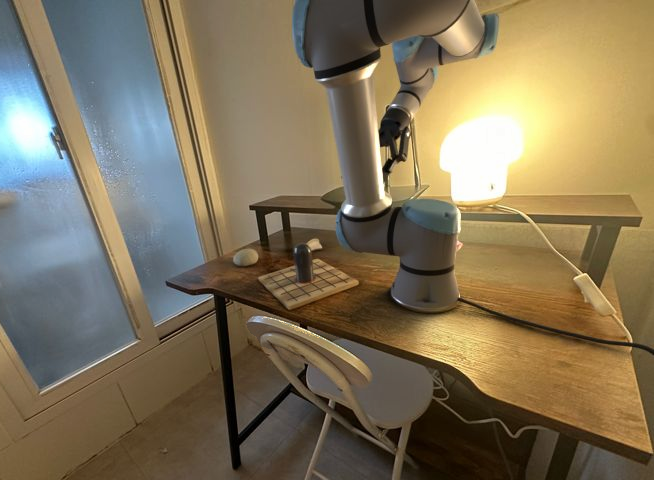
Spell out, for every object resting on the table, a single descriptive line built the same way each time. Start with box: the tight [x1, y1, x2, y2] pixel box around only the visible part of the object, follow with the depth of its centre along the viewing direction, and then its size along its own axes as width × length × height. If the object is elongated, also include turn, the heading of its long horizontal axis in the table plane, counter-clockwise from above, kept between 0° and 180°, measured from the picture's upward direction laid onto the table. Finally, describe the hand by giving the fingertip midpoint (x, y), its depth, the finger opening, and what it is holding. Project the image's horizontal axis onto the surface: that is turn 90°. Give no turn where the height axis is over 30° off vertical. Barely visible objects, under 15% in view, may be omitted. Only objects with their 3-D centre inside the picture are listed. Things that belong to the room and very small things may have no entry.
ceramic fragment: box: [305, 238, 323, 252], centre depth 112 cm, size 14×5×4 cm, turn 143°
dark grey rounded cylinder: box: [292, 242, 314, 282], centre depth 88 cm, size 5×5×11 cm
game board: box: [257, 258, 360, 311], centre depth 90 cm, size 22×22×1 cm
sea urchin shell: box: [232, 248, 259, 268], centre depth 110 cm, size 9×8×8 cm
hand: (360, 181), depth 86 cm, fingers open, 13 cm apart
